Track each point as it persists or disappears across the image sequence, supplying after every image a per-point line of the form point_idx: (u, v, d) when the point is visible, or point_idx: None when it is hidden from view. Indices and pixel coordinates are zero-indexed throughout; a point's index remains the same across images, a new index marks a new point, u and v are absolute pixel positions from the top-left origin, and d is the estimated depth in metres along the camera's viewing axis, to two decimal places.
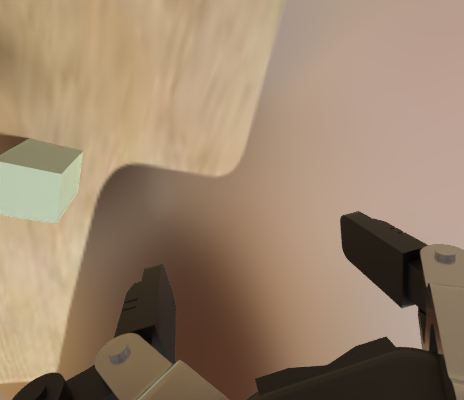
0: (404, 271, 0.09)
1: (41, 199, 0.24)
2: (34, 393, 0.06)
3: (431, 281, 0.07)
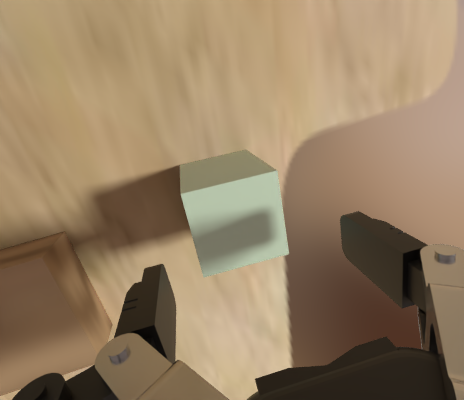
0: (404, 271, 0.09)
1: (260, 225, 0.15)
2: (34, 392, 0.06)
3: (431, 281, 0.07)
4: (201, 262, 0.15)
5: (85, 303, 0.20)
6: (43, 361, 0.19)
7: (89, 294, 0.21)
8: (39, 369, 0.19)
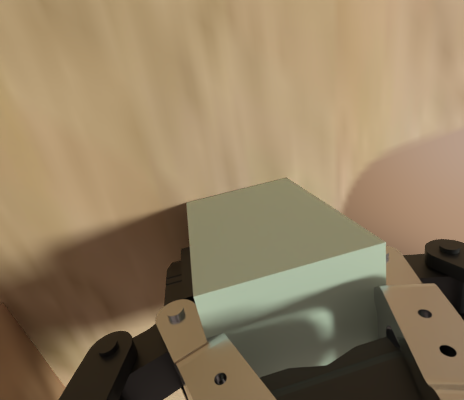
0: None
1: (343, 339, 0.08)
2: (108, 345, 0.07)
3: None
4: None
5: None
6: None
7: (48, 392, 0.14)
8: None
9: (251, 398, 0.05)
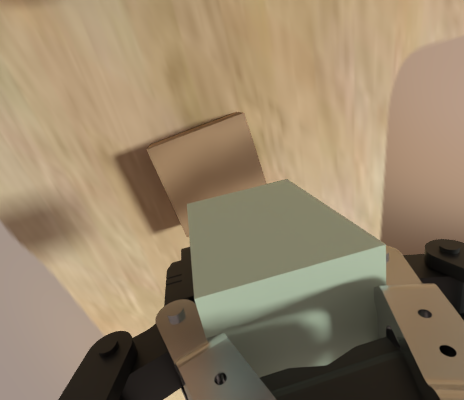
0: None
1: (344, 341, 0.08)
2: (108, 345, 0.07)
3: None
4: None
5: None
6: None
7: None
8: None
9: (251, 398, 0.05)
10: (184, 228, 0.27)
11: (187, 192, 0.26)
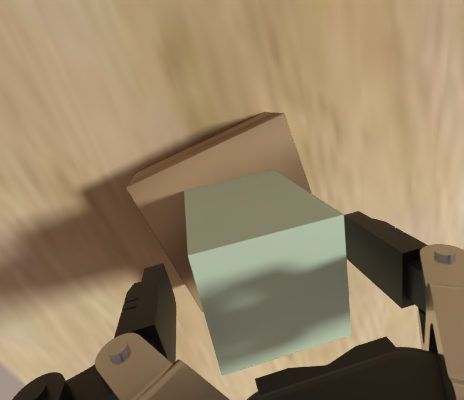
0: (404, 271, 0.09)
1: (312, 297, 0.10)
2: (34, 392, 0.06)
3: (431, 281, 0.07)
4: (219, 355, 0.10)
5: None
6: None
7: None
8: None
9: None
10: (197, 300, 0.17)
11: None
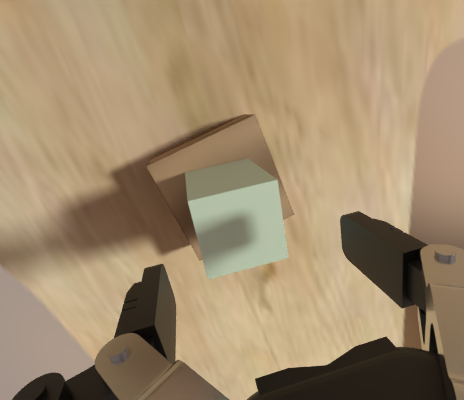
0: (404, 271, 0.09)
1: (261, 230, 0.16)
2: (34, 392, 0.06)
3: (431, 281, 0.07)
4: (206, 265, 0.16)
5: None
6: None
7: None
8: None
9: None
10: (196, 251, 0.23)
11: None
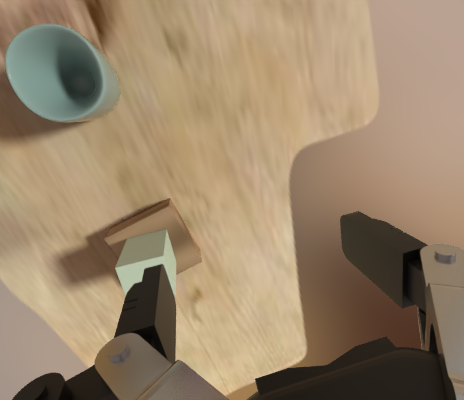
0: (404, 271, 0.09)
1: None
2: (34, 392, 0.06)
3: (431, 281, 0.07)
4: None
5: (187, 233, 0.38)
6: None
7: (187, 230, 0.39)
8: None
9: None
10: None
11: None
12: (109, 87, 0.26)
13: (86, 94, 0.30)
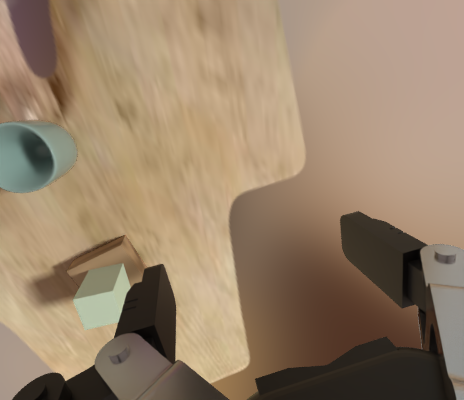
0: (404, 271, 0.09)
1: (108, 310, 0.37)
2: (34, 393, 0.06)
3: (431, 281, 0.07)
4: (83, 324, 0.37)
5: (139, 264, 0.45)
6: None
7: (140, 261, 0.46)
8: None
9: None
10: None
11: None
12: (61, 164, 0.32)
13: (47, 159, 0.36)
